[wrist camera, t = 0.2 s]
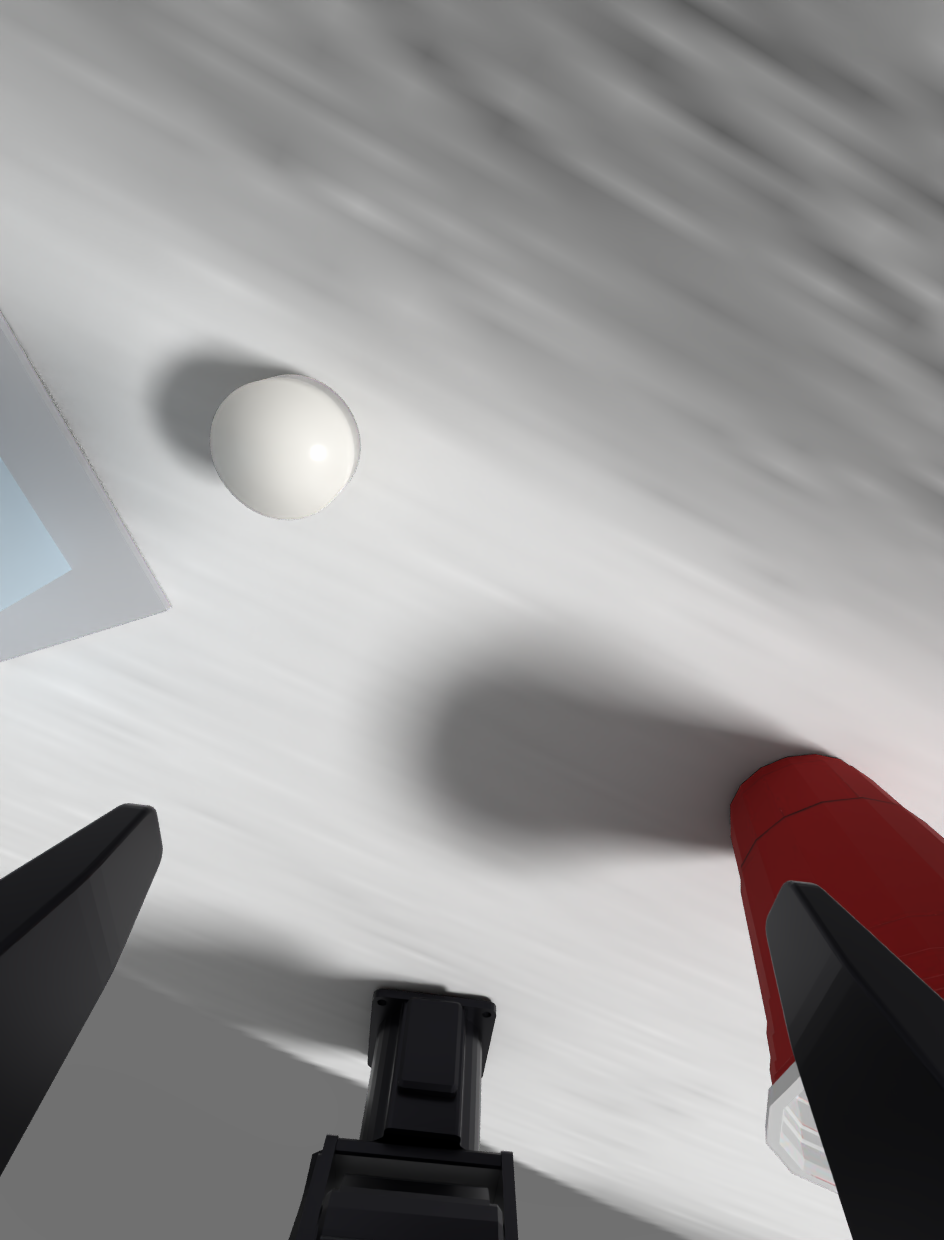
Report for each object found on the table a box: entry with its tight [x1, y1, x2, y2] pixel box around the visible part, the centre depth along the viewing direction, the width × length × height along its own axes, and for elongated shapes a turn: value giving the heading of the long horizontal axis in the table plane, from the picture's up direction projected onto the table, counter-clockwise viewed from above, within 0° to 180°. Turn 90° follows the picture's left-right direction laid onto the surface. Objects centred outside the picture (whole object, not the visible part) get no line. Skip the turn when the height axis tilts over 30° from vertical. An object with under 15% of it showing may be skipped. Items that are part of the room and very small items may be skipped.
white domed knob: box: [210, 374, 361, 520], centre depth 19 cm, size 4×4×3 cm
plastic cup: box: [730, 754, 944, 1194], centre depth 21 cm, size 11×11×12 cm
